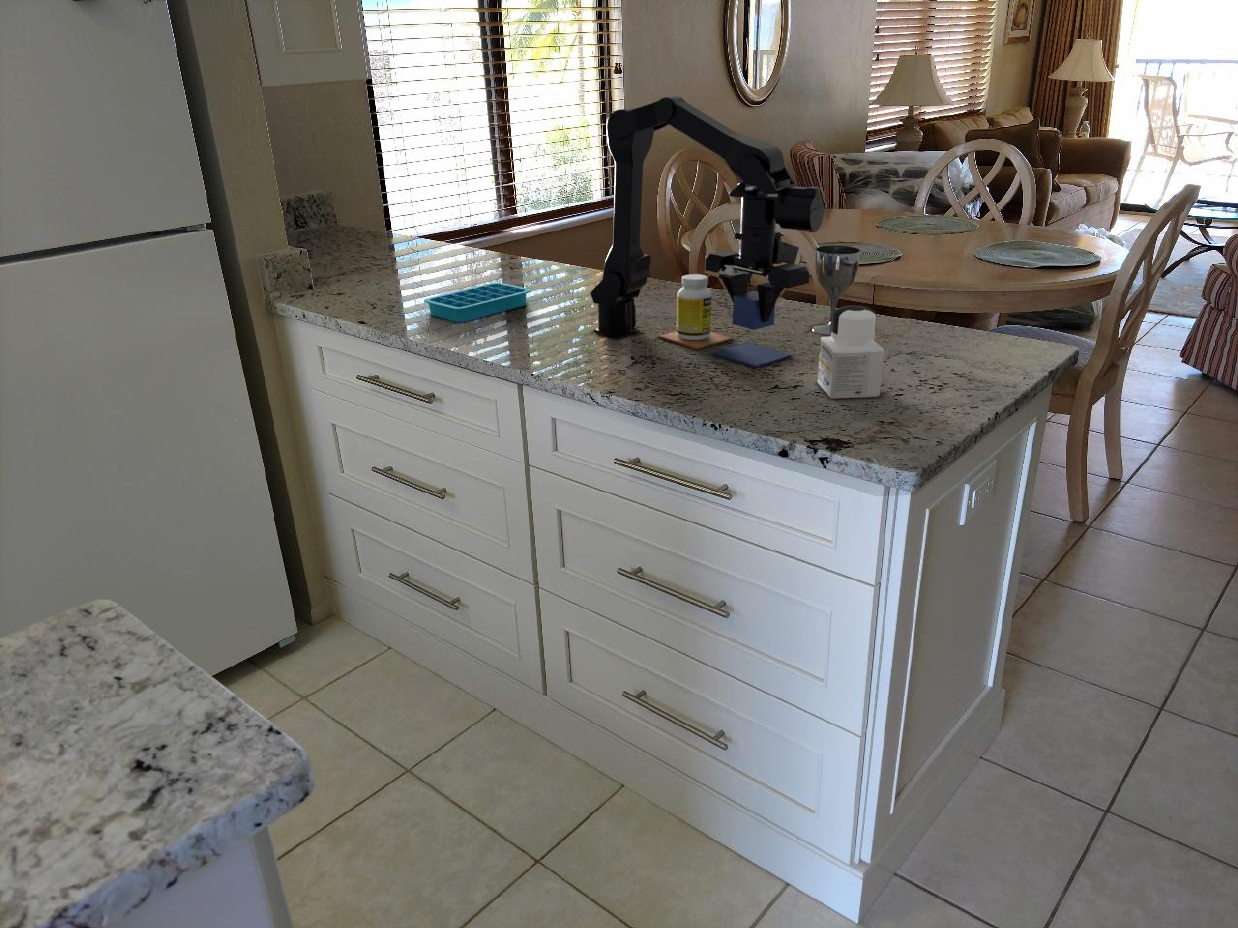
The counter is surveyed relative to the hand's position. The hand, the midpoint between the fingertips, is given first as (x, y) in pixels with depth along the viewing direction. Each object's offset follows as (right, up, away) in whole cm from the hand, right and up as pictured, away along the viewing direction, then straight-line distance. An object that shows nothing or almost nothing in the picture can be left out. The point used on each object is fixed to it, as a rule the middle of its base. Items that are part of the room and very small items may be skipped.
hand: (753, 318), depth 164 cm
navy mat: (0, -6, +3) cm, 7 cm away
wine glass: (+17, 0, +17) cm, 24 cm away
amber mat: (-9, -2, +12) cm, 15 cm away
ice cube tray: (-52, +7, +33) cm, 62 cm away
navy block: (0, -1, 0) cm, 1 cm away
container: (+13, -13, -14) cm, 23 cm away
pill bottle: (-9, -2, +12) cm, 16 cm away
